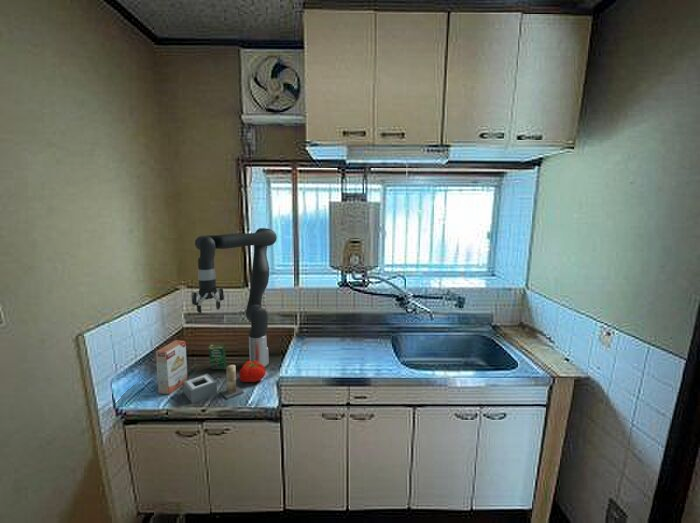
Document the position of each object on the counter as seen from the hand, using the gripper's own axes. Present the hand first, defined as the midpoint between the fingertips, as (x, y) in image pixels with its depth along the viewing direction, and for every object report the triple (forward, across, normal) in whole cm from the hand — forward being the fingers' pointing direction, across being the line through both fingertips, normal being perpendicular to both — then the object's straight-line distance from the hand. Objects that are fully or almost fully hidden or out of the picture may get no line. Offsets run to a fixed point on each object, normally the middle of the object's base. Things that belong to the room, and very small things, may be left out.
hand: (209, 311), depth 160 cm
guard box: (+36, +9, +8) cm, 38 cm away
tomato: (+36, -15, +13) cm, 41 cm away
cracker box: (+36, +16, -7) cm, 40 cm away
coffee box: (+36, -7, -11) cm, 39 cm away
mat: (+36, -2, +17) cm, 40 cm away
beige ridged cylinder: (+35, -2, +17) cm, 39 cm away
